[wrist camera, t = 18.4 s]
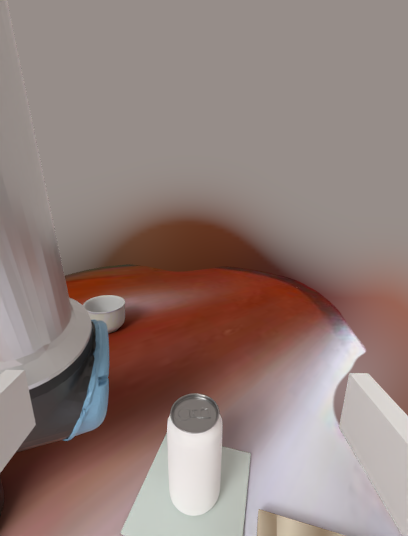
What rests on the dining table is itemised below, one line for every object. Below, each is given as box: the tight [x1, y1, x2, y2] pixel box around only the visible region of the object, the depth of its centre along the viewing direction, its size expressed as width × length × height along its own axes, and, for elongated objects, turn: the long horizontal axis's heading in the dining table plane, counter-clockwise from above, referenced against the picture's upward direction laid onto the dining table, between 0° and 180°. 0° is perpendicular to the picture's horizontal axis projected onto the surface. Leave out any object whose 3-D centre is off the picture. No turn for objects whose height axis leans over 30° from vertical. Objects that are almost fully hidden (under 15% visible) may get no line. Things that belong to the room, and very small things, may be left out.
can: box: [167, 393, 222, 516], centre depth 31 cm, size 6×6×12 cm
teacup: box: [83, 295, 125, 333], centre depth 71 cm, size 14×11×8 cm
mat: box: [121, 433, 251, 536], centre depth 33 cm, size 13×13×1 cm
